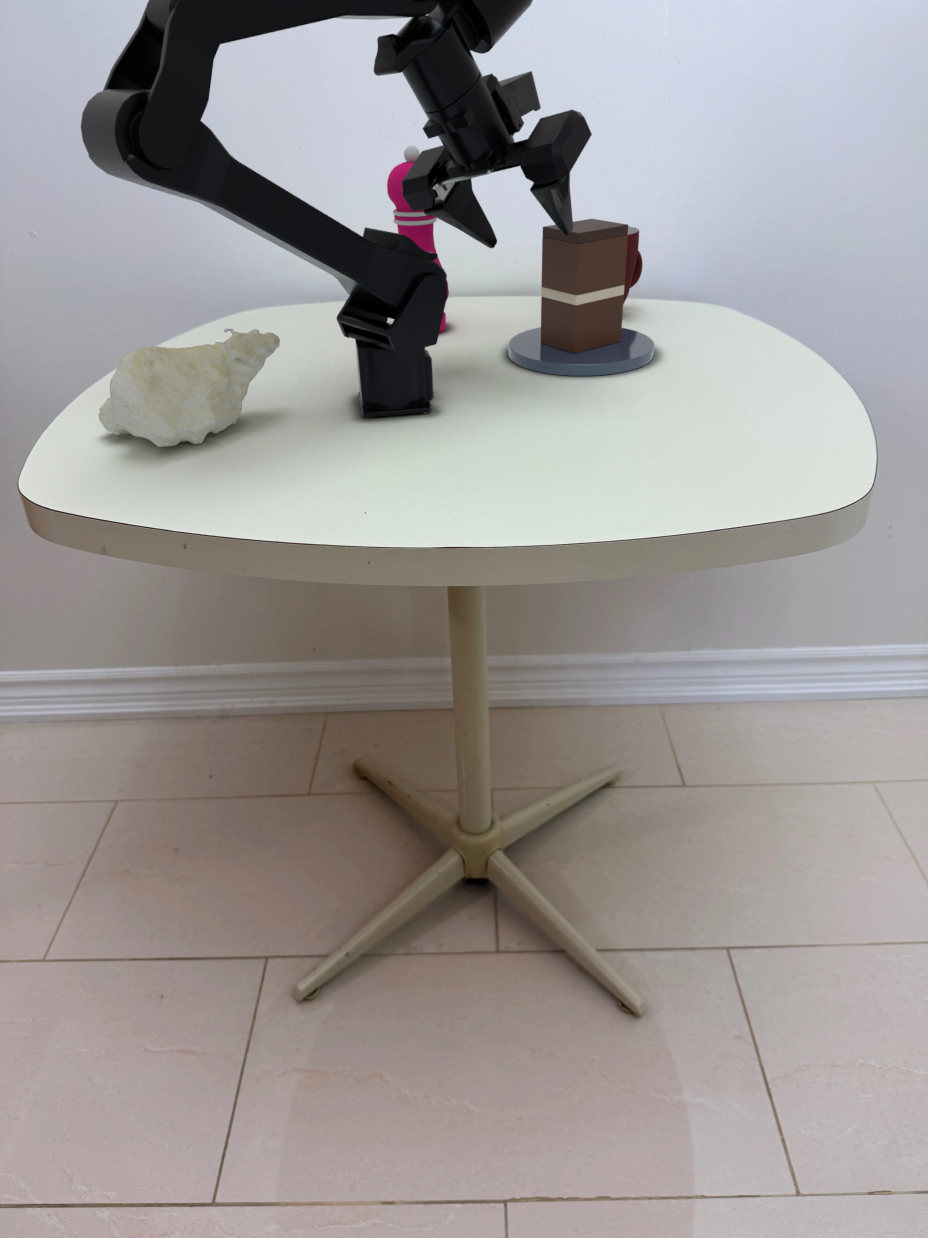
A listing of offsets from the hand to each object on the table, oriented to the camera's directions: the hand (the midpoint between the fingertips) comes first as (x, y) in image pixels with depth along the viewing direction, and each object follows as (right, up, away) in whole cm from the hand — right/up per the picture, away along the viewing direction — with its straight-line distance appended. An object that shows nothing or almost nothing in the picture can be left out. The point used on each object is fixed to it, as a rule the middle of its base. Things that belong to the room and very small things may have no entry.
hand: (530, 238), depth 88 cm
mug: (+12, +1, +26) cm, 29 cm away
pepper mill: (-12, -2, +22) cm, 25 cm away
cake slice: (+6, -7, +11) cm, 14 cm away
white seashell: (-31, -20, -5) cm, 37 cm away
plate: (+6, -8, +12) cm, 15 cm away
